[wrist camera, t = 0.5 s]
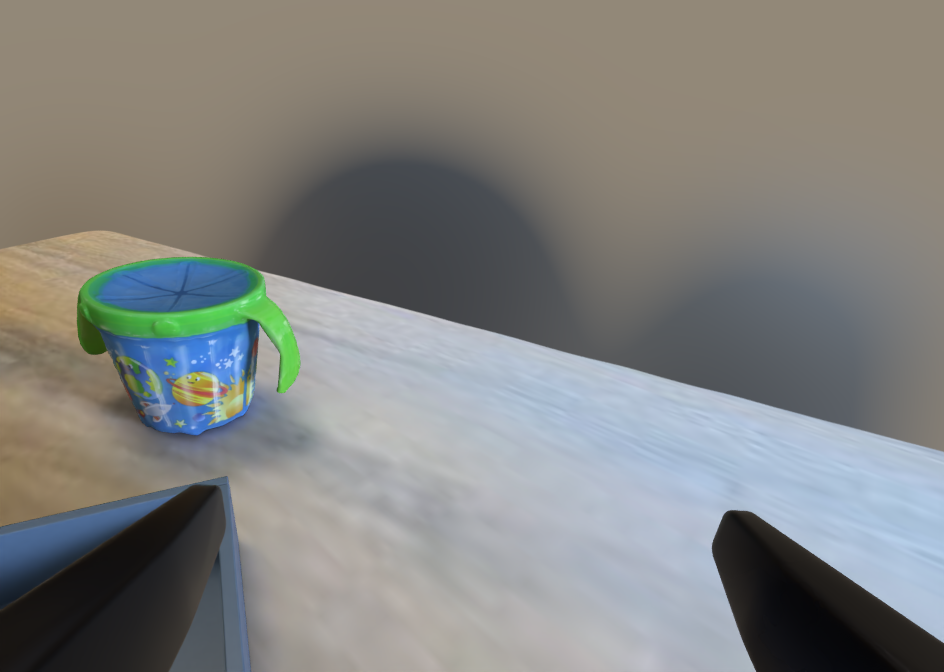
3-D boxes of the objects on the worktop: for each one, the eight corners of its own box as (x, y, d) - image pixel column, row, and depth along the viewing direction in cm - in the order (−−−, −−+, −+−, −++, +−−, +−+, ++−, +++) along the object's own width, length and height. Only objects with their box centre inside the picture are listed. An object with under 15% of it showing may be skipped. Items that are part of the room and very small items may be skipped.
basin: (263, 799, 18) (250, 731, 15) (-267, 1064, 12) (-395, 1013, 10) (238, 539, 27) (227, 475, 25) (-66, 623, 22) (-111, 550, 20)
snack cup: (331, 397, 40) (327, 278, 35) (240, 483, 31) (218, 339, 26) (173, 354, 43) (150, 241, 39) (48, 420, 34) (0, 282, 29)
